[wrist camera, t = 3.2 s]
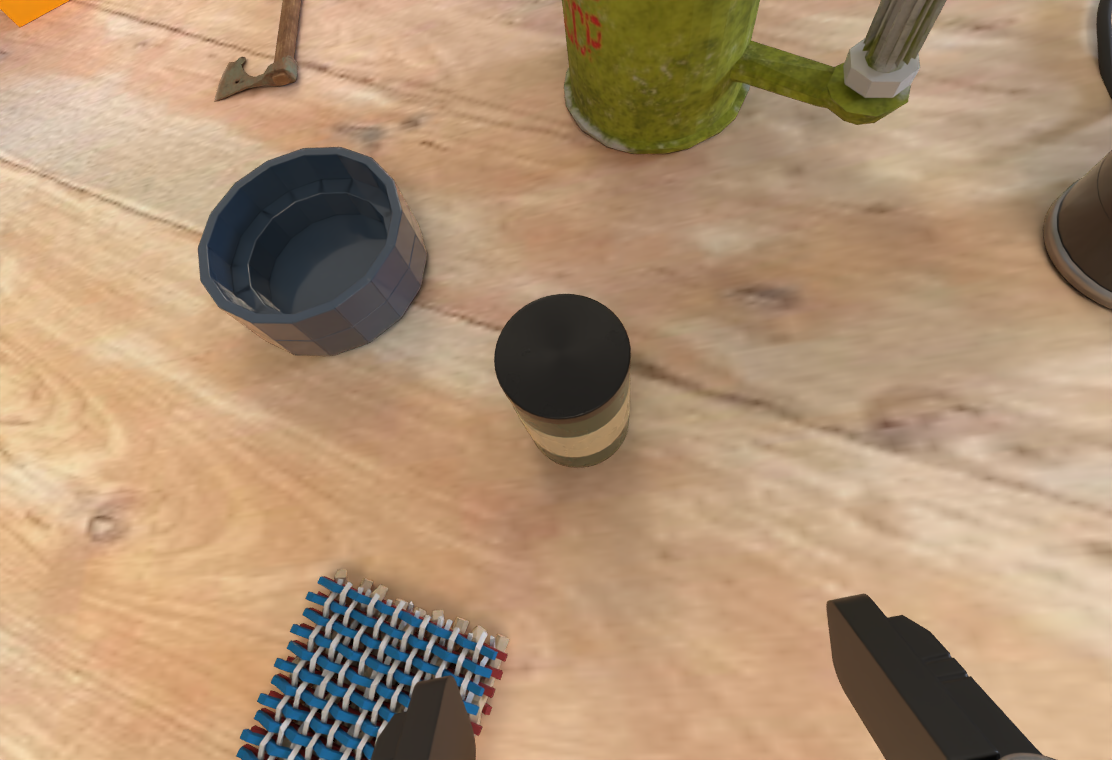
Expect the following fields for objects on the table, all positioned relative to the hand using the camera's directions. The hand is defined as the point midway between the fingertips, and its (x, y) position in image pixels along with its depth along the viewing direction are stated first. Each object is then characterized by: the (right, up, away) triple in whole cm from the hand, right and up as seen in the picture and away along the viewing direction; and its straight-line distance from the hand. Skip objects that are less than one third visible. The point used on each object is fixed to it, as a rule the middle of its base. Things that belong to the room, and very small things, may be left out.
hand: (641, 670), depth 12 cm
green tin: (-1, +4, +20) cm, 20 cm away
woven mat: (-10, -10, +16) cm, 21 cm away
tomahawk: (-24, +37, +36) cm, 57 cm away
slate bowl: (-16, +13, +25) cm, 33 cm away
